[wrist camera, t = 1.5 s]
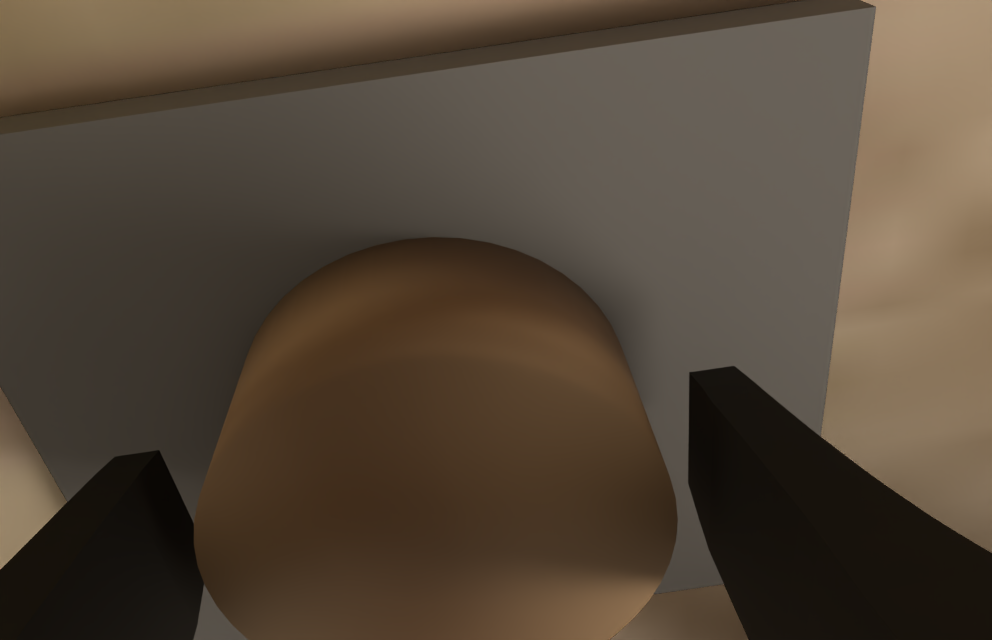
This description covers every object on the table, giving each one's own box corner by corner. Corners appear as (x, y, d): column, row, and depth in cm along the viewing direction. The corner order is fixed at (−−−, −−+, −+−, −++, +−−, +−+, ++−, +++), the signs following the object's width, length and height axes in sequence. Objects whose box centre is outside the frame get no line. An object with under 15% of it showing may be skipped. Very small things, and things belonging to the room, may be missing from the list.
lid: (621, 207, 10) (678, 320, 8) (633, 517, 14) (677, 663, 11) (186, 270, 10) (114, 401, 8) (297, 564, 14) (271, 721, 11)
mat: (845, -6, 10) (875, 6, 9) (786, 539, 15) (802, 572, 15) (-96, 131, 10) (-135, 154, 9) (173, 628, 15) (161, 665, 15)
